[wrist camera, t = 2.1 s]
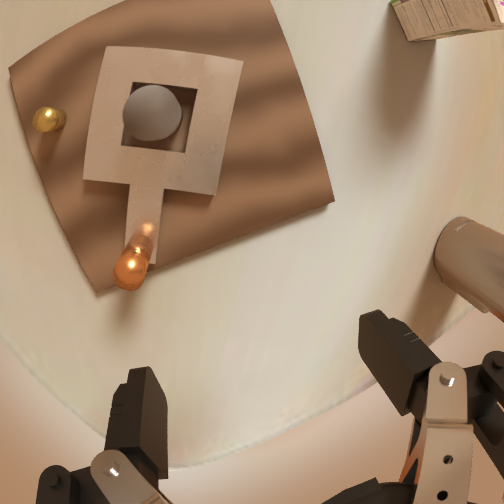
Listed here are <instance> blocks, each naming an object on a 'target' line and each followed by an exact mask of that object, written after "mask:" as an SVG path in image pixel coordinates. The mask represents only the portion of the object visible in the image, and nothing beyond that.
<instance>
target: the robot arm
mask: <svg viewBox="0 0 504 504" xmlns="http://www.w3.org/2000/svg"><path fill="white" fill-rule="evenodd" d="M434 262H435V267H436V270H437V272H438V273H439V274H440V275H441V277H442V282H443V283H444V284H445V285H447V286H448V287H449V288H451V289H452V290H453V291H455V292H456V293H457V294H459V295H460V296H461V297H463V298H464V299H465V300H467V301H468V302H469V303H471V304H472V305H473V306H474V307H476V308H477V309H478V310H480V311H481V312H483V313H487V312H488V311H490V312H491V313H492V314H494V315H495V316H496V317H497V318H499V319H500V320H501V321H502V322H504V235H503V234H501V233H499V232H497V231H494V230H492V229H490V228H488V227H486V226H484V225H482V224H479V223H477V222H475V221H473V220H470V219H468V218H466V217H458V218H456V219H454V220H452V221H451V222H450V223H449V224H448V225H447V226H446V227H445V229H444V230H443V232H442V233H441V235H440V237H439V240H438V242H437V245H436V249H435V256H434ZM358 349H359V353H360V356H361V358H362V360H363V361H364V363H365V364H366V365H367V367H368V368H369V370H370V371H371V373H372V374H373V376H374V377H375V378H376V380H377V381H378V383H379V384H380V386H381V387H382V388H383V390H384V391H385V393H386V394H387V396H388V397H389V399H390V400H391V402H392V403H393V405H394V406H395V408H396V409H397V410H398V412H399V413H400V415H401V416H404V415H406V414H408V413H410V412H411V413H412V414H413V415H414V419H413V424H412V430H411V436H410V441H409V447H408V452H407V457H406V461H405V464H404V467H403V470H402V473H401V475H400V479H399V482H386V483H378V481H377V479H376V477H375V478H373V479H371V480H368V481H366V482H364V483H361V484H358V485H356V486H353V487H351V488H348V489H345V490H344V491H342V492H340V493H339V494H337V495H335V496H334V497H332V498H331V499H329V500H327V501H325V502H324V503H322V504H476V503H472V502H468V501H467V499H468V493H469V485H470V476H471V467H472V466H471V465H472V453H473V433H474V434H475V435H476V437H477V439H478V440H479V441H480V443H481V444H482V446H483V448H484V449H485V450H486V452H487V454H488V455H489V457H490V458H491V460H492V461H493V463H494V464H495V466H496V468H497V469H498V471H499V472H500V474H501V476H502V477H503V479H504V412H503V411H502V409H501V408H500V407H499V405H498V404H497V402H499V403H500V404H501V405H502V407H503V408H504V352H501V351H492V352H490V353H488V354H486V356H485V357H484V359H483V361H482V364H480V365H476V366H472V367H468V368H462V367H460V366H459V365H457V364H455V363H452V362H442V361H441V360H440V359H439V358H438V357H437V356H436V355H435V354H434V353H433V352H432V351H431V350H430V349H429V348H428V347H427V346H426V345H425V344H424V342H423V341H422V340H421V339H419V338H418V336H417V335H416V334H415V333H413V332H412V330H411V329H410V328H409V327H408V326H407V325H406V324H405V323H404V322H402V321H399V320H397V319H395V318H391V319H388V318H387V316H386V315H385V314H384V313H383V312H382V311H381V310H375V311H372V312H369V313H366V314H363V315H361V316H360V318H359V337H358ZM167 413H168V407H167V400H166V397H165V394H164V392H163V390H162V388H161V386H160V384H159V382H158V380H157V378H156V377H155V375H154V373H153V371H152V369H151V368H150V367H149V366H147V367H141V368H135V369H130V370H129V374H128V380H127V383H125V384H120V386H119V387H118V389H117V390H116V392H115V393H114V395H113V400H112V408H111V411H110V417H109V423H108V429H107V435H106V442H105V448H104V451H103V452H101V453H99V454H98V455H97V456H96V457H95V458H94V460H93V461H92V463H91V466H89V467H86V468H83V469H79V470H76V471H72V472H69V471H68V470H67V469H65V468H64V467H62V466H59V465H53V466H50V467H48V468H46V469H45V470H44V471H43V472H42V474H41V476H40V479H39V484H38V491H37V498H36V504H173V503H172V502H171V501H170V500H169V499H168V498H167V497H166V496H165V495H164V494H163V493H162V492H161V491H160V490H159V488H158V479H168V449H167ZM502 499H503V502H504V494H503V497H502Z"/></svg>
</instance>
